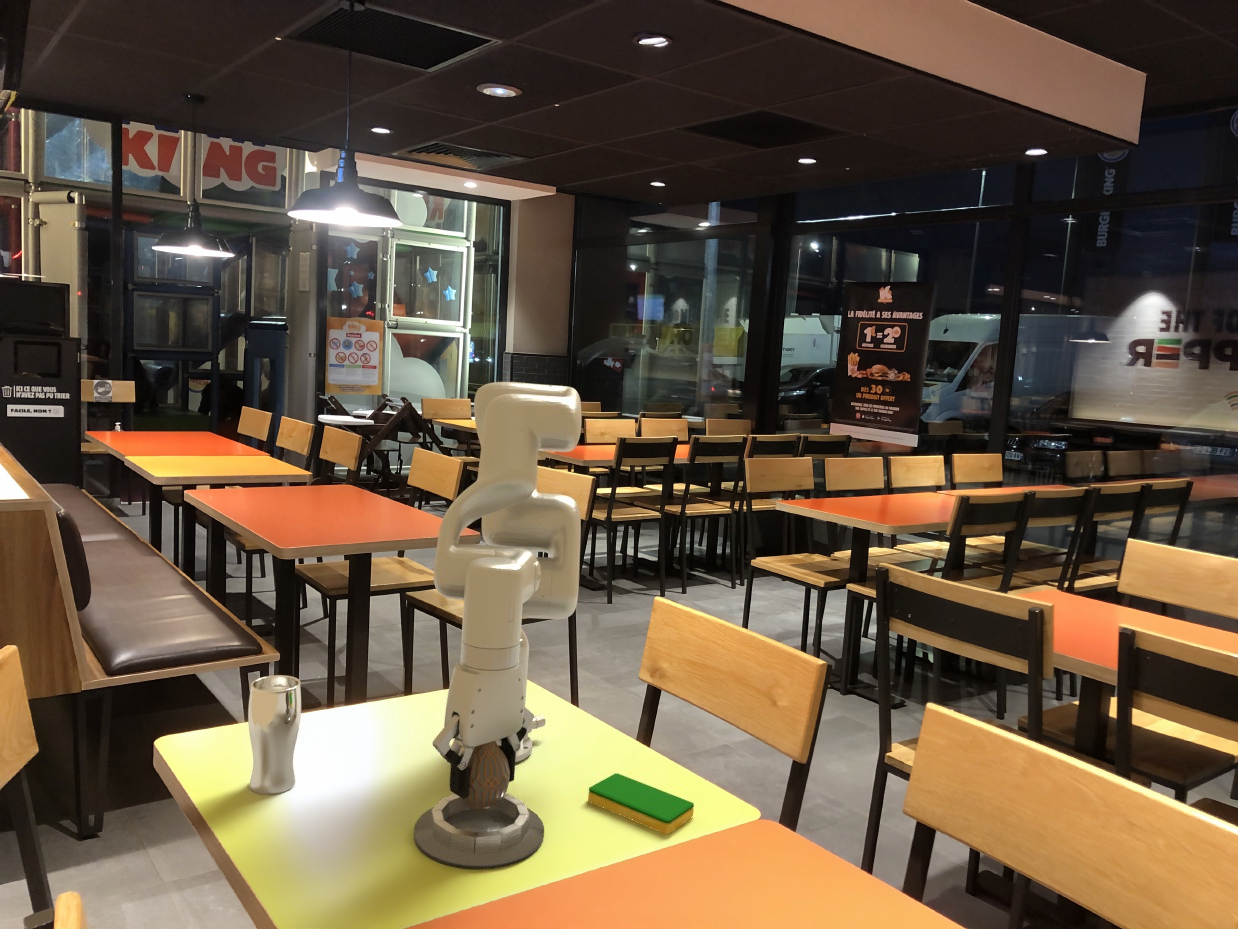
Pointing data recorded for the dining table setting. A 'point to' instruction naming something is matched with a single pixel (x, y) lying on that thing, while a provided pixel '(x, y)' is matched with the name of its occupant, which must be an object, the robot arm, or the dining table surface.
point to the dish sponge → (641, 803)
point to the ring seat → (478, 833)
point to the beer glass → (273, 732)
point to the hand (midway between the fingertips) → (482, 785)
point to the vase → (487, 776)
